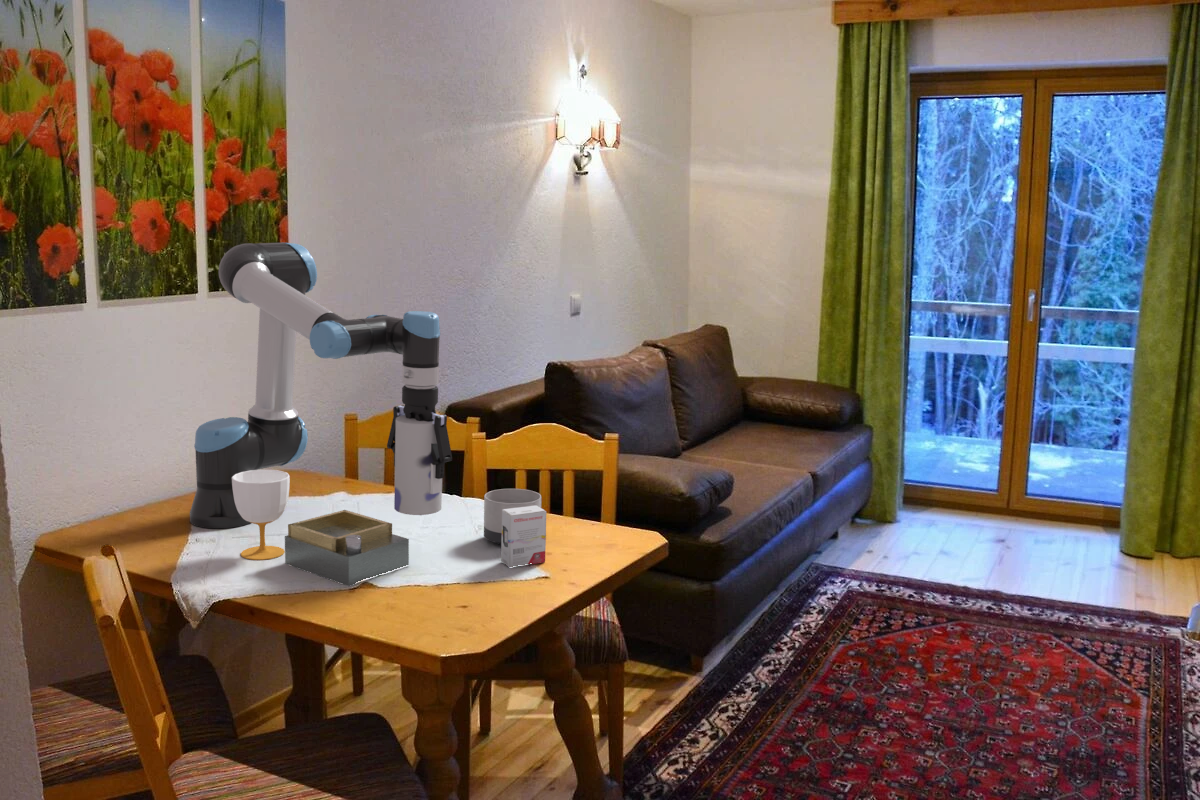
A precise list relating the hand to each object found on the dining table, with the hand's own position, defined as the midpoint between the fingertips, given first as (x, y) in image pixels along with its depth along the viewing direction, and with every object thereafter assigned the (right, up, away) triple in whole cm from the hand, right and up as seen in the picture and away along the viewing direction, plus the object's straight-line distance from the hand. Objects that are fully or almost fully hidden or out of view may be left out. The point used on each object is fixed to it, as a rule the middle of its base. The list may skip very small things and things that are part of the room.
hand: (418, 487), depth 235 cm
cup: (-33, -14, 0) cm, 36 cm away
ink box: (+23, -16, -1) cm, 28 cm away
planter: (+19, -13, +14) cm, 27 cm away
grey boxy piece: (-14, -16, -6) cm, 22 cm away
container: (0, -5, +1) cm, 5 cm away
